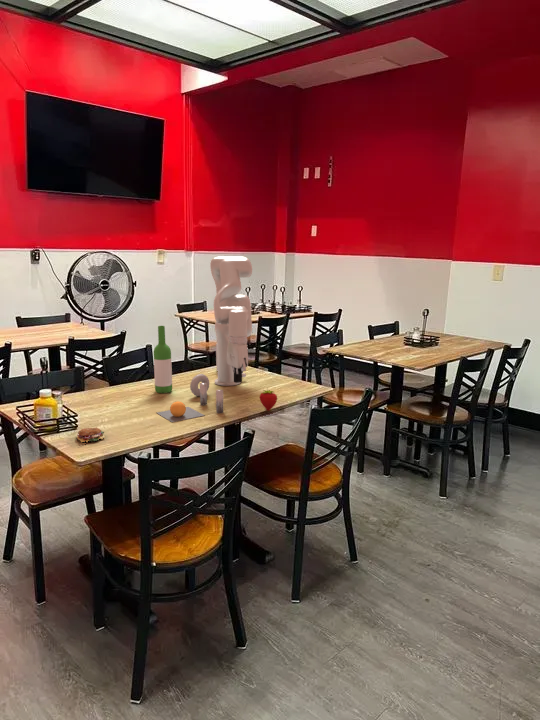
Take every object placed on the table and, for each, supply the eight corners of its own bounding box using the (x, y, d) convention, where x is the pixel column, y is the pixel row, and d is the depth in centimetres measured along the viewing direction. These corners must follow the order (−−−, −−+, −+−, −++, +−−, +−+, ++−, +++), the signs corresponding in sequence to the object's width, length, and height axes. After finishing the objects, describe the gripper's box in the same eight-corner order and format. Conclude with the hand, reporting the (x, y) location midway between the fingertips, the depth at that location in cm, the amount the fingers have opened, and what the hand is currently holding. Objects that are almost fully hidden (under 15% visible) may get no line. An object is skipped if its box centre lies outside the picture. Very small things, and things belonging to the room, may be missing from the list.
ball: (164, 411, 206) (175, 418, 210) (172, 414, 201) (184, 420, 205) (171, 397, 208) (182, 404, 211) (180, 399, 203) (191, 407, 207)
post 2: (221, 410, 214) (220, 389, 212) (224, 412, 212) (224, 390, 210) (215, 412, 213) (214, 390, 211) (218, 413, 210) (218, 391, 209)
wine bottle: (174, 389, 246) (172, 325, 240) (168, 394, 238) (166, 327, 232) (158, 388, 247) (156, 324, 241) (152, 393, 240) (149, 327, 233)
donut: (193, 399, 231) (193, 376, 229) (188, 397, 233) (188, 375, 231) (211, 394, 238) (210, 372, 236) (206, 393, 240) (205, 371, 238)
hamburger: (61, 441, 183) (59, 424, 181) (101, 432, 191) (100, 416, 190) (74, 452, 172) (73, 435, 170) (116, 443, 180) (115, 426, 179)
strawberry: (272, 414, 210) (273, 389, 208) (256, 411, 214) (256, 387, 212) (280, 410, 215) (280, 386, 213) (263, 407, 219) (263, 384, 217)
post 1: (205, 403, 225) (204, 382, 223) (208, 404, 223) (207, 383, 221) (199, 404, 223) (198, 383, 221) (202, 405, 221) (201, 384, 219)
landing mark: (188, 407, 219) (188, 406, 219) (204, 415, 208) (204, 415, 208) (156, 413, 211) (156, 412, 211) (171, 422, 200) (171, 421, 200)
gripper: (220, 337, 223) (221, 379, 228) (239, 344, 212) (239, 388, 217) (236, 335, 228) (236, 376, 233) (255, 342, 216) (255, 385, 221)
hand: (237, 381), depth 225 cm, fingers closed
